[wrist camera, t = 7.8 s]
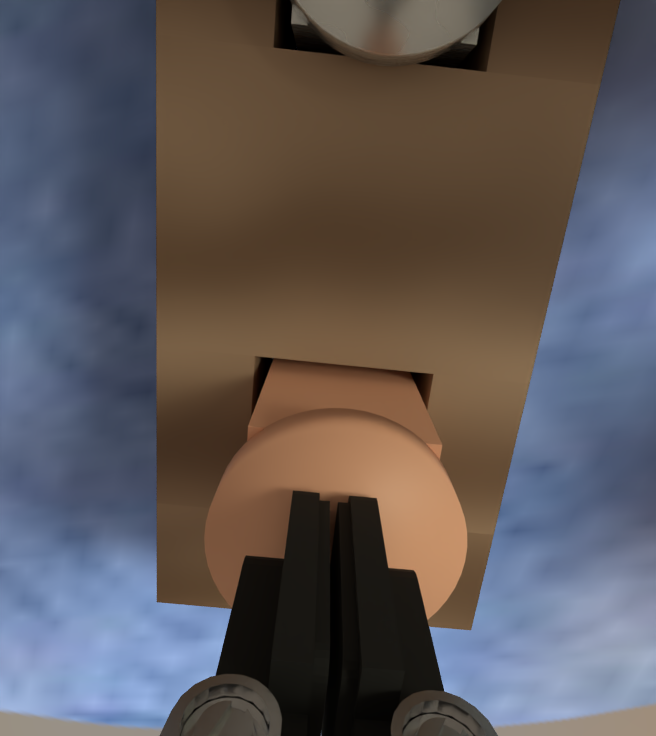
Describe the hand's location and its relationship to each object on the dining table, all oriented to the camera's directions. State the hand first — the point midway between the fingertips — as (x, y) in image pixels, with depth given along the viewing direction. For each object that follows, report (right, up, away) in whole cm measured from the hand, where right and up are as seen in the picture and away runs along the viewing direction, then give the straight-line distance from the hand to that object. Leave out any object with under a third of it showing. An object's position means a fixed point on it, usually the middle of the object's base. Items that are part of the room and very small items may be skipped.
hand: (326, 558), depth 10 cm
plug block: (+1, +9, +7) cm, 11 cm away
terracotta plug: (0, +2, +6) cm, 6 cm away
